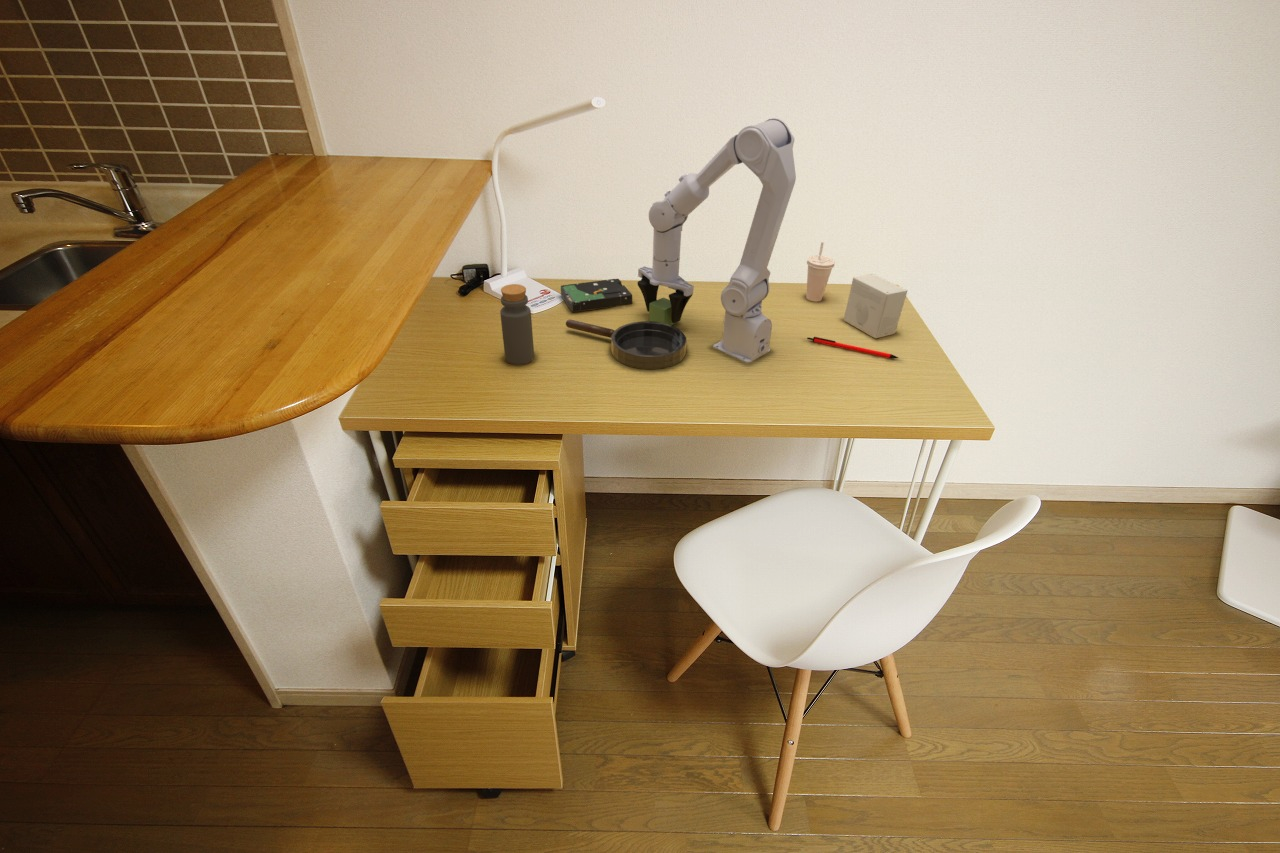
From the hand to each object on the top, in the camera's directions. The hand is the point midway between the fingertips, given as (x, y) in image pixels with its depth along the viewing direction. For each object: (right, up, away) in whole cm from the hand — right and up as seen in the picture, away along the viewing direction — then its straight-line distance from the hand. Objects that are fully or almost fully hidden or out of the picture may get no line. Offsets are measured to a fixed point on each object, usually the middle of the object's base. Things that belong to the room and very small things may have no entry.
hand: (663, 315), depth 146 cm
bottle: (-30, -11, -13) cm, 34 cm away
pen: (+40, -9, -7) cm, 41 cm away
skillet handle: (-16, -5, -6) cm, 18 cm away
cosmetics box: (+47, -2, +2) cm, 47 cm away
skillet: (-3, -9, -10) cm, 14 cm away
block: (0, -1, +1) cm, 2 cm away
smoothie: (+37, +6, +14) cm, 40 cm away
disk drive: (-16, +5, +10) cm, 19 cm away
